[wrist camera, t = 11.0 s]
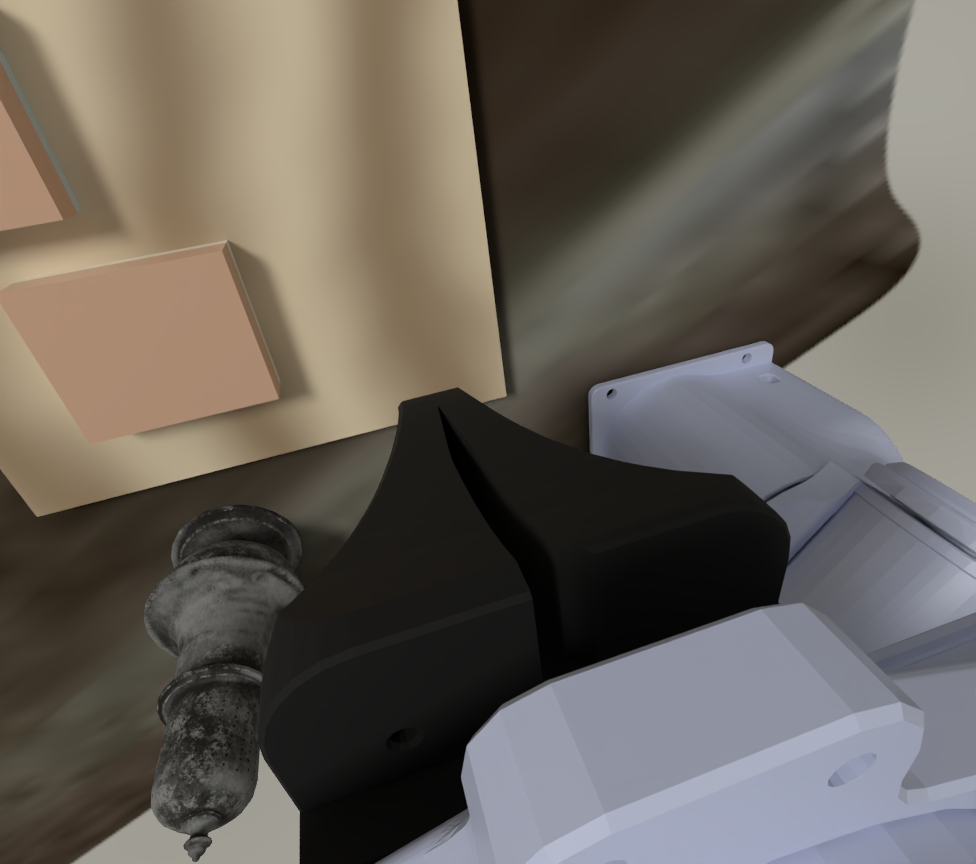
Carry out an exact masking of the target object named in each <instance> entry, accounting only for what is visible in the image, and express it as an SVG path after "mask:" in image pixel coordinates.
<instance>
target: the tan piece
mask: <svg viewBox="0 0 976 864" xmlns="http://www.w3.org/2000/svg"><path fill="white" fill-rule="evenodd" d="M80 211H82V209H81V207H80V205H79V203H78V201H77V199H76V197H75V195H74V193H73V191H72V189H71V187H70V185H69V183H68V181H67V179H66V177H65V175H64V173H63V171H62V169H61V167H60V165H59V163H58V161H57V159H56V158H55V156H54V154H53V152H52V150H51V148H50V146H49V144H48V142H47V140H46V138H45V136H44V134H43V132H42V130H41V128H40V126H39V124H38V122H37V120H36V118H35V116H34V114H33V112H32V110H31V108H30V106H29V104H28V102H27V100H26V98H25V96H24V94H23V92H22V90H21V88H20V86H19V84H18V82H17V80H16V78H15V76H14V74H13V72H12V70H11V68H10V66H9V64H8V62H7V60H6V58H5V56H4V54H3V52H2V50H1V48H0V231H3V230H9V229H15V228H20V227H26V226H32V225H37V224H43V223H49V222H55V221H60V220H64V219H66V218H68V217H70V216H72V215H74V214H76V213H78V212H80Z"/></svg>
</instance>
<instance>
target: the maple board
mask: <svg viewBox="0 0 976 864" xmlns="http://www.w3.org/2000/svg"><path fill="white" fill-rule="evenodd" d="M0 48H1V50H2V52H3V54H4V56H5V58H6V60H7V62H8V64H9V66H10V68H11V70H12V72H13V74H14V76H15V78H16V80H17V82H18V84H19V86H20V88H21V90H22V92H23V94H24V96H25V98H26V100H27V102H28V104H29V106H30V108H31V110H32V112H33V114H34V116H35V118H36V120H37V122H38V124H39V126H40V128H41V130H42V132H43V134H44V136H45V138H46V140H47V142H48V144H49V146H50V148H51V150H52V152H53V154H54V156H55V158H56V159H57V161H58V163H59V165H60V167H61V169H62V171H63V173H64V175H65V177H66V179H67V181H68V183H69V185H70V187H71V189H72V191H73V193H74V195H75V197H76V199H77V201H78V203H79V205H80V207H81V209H82V211H80V212H78V213H76V214H74V215H72V216H70V217H68V218H66V219H64V220H60V221H55V222H49V223H43V224H37V225H32V226H26V227H20V228H15V229H9V230H3V231H0V291H1V290H2V289H4V288H6V287H7V286H9V285H10V284H12V283H14V282H15V281H17V280H19V279H24V278H30V277H35V276H40V275H45V274H51V273H56V272H61V271H67V270H72V269H77V268H82V267H88V266H93V265H98V264H103V263H109V262H114V261H119V260H125V259H130V258H135V257H140V256H146V255H151V254H156V253H161V252H167V251H172V250H177V249H183V248H188V247H193V246H198V245H204V244H209V243H214V242H219V241H225V240H228V242H229V245H230V247H231V250H232V253H233V255H234V258H235V261H236V263H237V266H238V269H239V271H240V274H241V277H242V279H243V282H244V285H245V287H246V290H247V292H248V295H249V298H250V300H251V303H252V306H253V308H254V311H255V314H256V316H257V319H258V322H259V324H260V327H261V330H262V332H263V335H264V338H265V340H266V343H267V346H268V348H269V351H270V354H271V356H272V359H273V362H274V364H275V367H276V370H277V372H278V375H279V378H280V380H281V382H280V394H279V399H277V400H273V401H269V402H265V403H260V404H256V405H252V406H248V407H244V408H240V409H235V410H231V411H227V412H223V413H219V414H215V415H210V416H206V417H202V418H198V419H194V420H190V421H185V422H181V423H177V424H173V425H169V426H165V427H160V428H156V429H152V430H148V431H144V432H140V433H135V434H131V435H127V436H123V437H119V438H115V439H110V440H106V441H102V442H98V443H94V444H89V442H88V441H87V439H86V438H85V436H84V435H83V433H82V431H81V430H80V428H79V427H78V425H77V424H76V422H75V420H74V419H73V417H72V416H71V414H70V413H69V411H68V409H67V408H66V406H65V405H64V403H63V402H62V400H61V398H60V397H59V395H58V394H57V392H56V391H55V389H54V387H53V386H52V384H51V383H50V381H49V380H48V378H47V376H46V375H45V373H44V372H43V370H42V369H41V367H40V365H39V364H38V362H37V361H36V359H35V358H34V356H33V354H32V353H31V351H30V350H29V348H28V347H27V345H26V343H25V342H24V340H23V339H22V337H21V336H20V334H19V332H18V331H17V329H16V328H15V326H14V325H13V323H12V321H11V320H10V318H9V317H8V315H7V314H6V312H5V310H4V309H3V307H2V306H1V304H0V469H1V471H2V472H3V473H4V474H5V476H6V477H7V478H8V480H9V481H10V482H11V484H12V485H13V486H14V488H15V489H16V490H17V491H18V493H19V494H20V495H21V497H22V498H23V499H24V501H25V502H26V503H27V504H28V506H29V507H30V508H31V510H32V511H33V512H34V514H35V515H36V516H37V517H38V516H42V515H46V514H50V513H54V512H58V511H62V510H66V509H70V508H74V507H77V506H81V505H85V504H89V503H93V502H97V501H101V500H105V499H109V498H112V497H116V496H120V495H124V494H128V493H132V492H136V491H140V490H144V489H148V488H151V487H155V486H159V485H163V484H167V483H171V482H175V481H179V480H183V479H187V478H190V477H194V476H198V475H202V474H206V473H210V472H214V471H218V470H222V469H225V468H229V467H233V466H237V465H241V464H245V463H249V462H253V461H257V460H261V459H264V458H268V457H272V456H276V455H280V454H284V453H288V452H292V451H296V450H300V449H303V448H307V447H311V446H315V445H319V444H323V443H327V442H331V441H335V440H338V439H342V438H346V437H350V436H354V435H358V434H362V433H366V432H370V431H374V430H377V429H381V428H385V427H389V426H393V425H397V424H398V416H399V411H398V406H399V405H400V403H401V402H402V401H405V400H409V399H413V398H417V397H421V396H425V395H429V394H433V393H437V392H441V391H445V390H449V389H453V388H457V387H458V388H460V389H461V390H463V391H465V392H466V393H468V394H469V395H471V396H472V397H474V398H475V399H477V400H478V401H480V402H481V403H483V402H487V401H490V400H494V399H498V398H502V397H506V396H507V395H506V387H505V379H504V371H503V363H502V355H501V347H500V339H499V331H498V323H497V315H496V307H495V299H494V291H493V283H492V275H491V267H490V259H489V251H488V243H487V235H486V227H485V219H484V211H483V203H482V195H481V187H480V179H479V170H478V162H477V154H476V146H475V138H474V130H473V122H472V114H471V106H470V98H469V90H468V82H467V74H466V66H465V58H464V50H463V42H462V34H461V26H460V18H459V10H458V2H457V0H0Z"/></svg>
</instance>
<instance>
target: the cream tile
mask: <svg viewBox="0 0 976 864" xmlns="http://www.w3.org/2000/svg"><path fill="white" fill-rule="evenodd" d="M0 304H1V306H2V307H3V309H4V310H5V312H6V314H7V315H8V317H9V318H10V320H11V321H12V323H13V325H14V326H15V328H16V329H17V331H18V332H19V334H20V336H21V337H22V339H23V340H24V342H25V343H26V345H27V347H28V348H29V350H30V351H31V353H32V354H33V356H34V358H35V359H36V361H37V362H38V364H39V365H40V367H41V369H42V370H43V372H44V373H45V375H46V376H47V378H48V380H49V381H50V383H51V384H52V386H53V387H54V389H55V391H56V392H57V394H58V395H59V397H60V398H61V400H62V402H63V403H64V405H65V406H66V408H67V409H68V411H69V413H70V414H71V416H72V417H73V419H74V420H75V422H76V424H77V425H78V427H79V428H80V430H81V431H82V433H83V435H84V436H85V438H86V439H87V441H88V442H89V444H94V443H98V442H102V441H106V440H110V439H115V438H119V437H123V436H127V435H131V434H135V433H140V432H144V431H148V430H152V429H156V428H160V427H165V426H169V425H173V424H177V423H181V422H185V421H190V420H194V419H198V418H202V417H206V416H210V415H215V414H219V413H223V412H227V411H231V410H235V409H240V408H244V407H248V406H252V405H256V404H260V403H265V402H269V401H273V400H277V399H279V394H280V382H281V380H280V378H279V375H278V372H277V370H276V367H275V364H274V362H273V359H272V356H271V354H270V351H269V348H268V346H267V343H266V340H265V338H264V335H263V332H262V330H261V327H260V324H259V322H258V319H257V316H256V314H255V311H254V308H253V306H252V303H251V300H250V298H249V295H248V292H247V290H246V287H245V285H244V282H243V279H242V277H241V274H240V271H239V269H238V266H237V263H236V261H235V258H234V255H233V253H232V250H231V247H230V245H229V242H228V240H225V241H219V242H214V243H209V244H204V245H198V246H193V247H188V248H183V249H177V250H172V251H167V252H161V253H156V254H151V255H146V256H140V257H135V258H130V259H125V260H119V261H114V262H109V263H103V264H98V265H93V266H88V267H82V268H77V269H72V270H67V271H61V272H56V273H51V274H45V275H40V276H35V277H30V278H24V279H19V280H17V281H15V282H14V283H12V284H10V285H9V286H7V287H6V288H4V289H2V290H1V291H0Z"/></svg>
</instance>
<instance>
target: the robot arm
mask: <svg viewBox="0 0 976 864" xmlns="http://www.w3.org/2000/svg"><path fill="white" fill-rule="evenodd" d="M745 354H746V356H745V357H744V359H742V358H743V356H744V355H745ZM772 356H773V346H772V345H771V344H769V343H767V342H765V341H761V342H757V343H754V344H750V345H746V346H742V347H738V348H734V349H730V350H727V351H723V352H719V353H715V354H711V355H707V356H704V357H700V358H696V359H692V360H688V361H684V362H681V363H677V364H673V365H669V366H665V367H661V368H657V369H654V370H650V371H646V372H642V373H638V374H634V375H631V376H627V377H623V378H619V379H615V380H611V381H608V382H604V383H600V384H597V385H595V386H593V387H592V388H591V390H590V391H589V395H588V404H589V436H590V453H588V452H585V451H581V450H578V449H575V448H572V447H570V446H567V445H564V444H561V443H559V442H556V441H553V440H551V439H548V438H546V437H544V436H541V435H539V434H537V433H535V432H533V431H531V430H529V429H527V428H524V427H522V426H520V425H518V424H517V423H515V422H513V421H511V420H509V419H507V418H506V417H504V416H502V415H500V414H499V413H497V412H495V411H494V410H492V409H491V408H489V407H487V406H486V405H484V404H483V403H481V402H480V401H478V400H477V399H475V398H474V397H472V396H471V395H469V394H468V393H466V392H465V391H463V390H461V389H460V388H458V387H457V388H453V389H449V390H445V391H441V392H437V393H433V394H429V395H425V396H421V397H417V398H413V399H409V400H405V401H402V402H401V403H400V405H399V406H398V411H399V416H398V425H397V431H396V436H395V440H394V444H393V448H392V452H391V455H390V458H389V461H388V463H387V466H386V469H385V472H384V474H383V477H382V480H381V482H380V484H379V486H378V489H377V491H376V493H375V495H374V497H373V499H372V501H371V503H370V505H369V507H368V508H367V510H366V512H365V514H364V515H363V517H362V518H361V520H360V522H359V523H358V525H357V527H356V528H355V530H354V531H353V533H352V534H351V536H350V537H349V539H348V540H347V541H346V543H345V544H344V545H343V547H342V548H341V549H340V550H339V552H338V553H337V554H336V555H335V557H334V558H333V559H332V560H331V562H330V563H329V564H328V565H327V566H326V567H325V568H324V570H323V571H322V572H321V573H320V574H319V575H318V576H317V577H316V578H315V579H314V580H313V581H312V582H311V583H310V584H309V585H308V586H307V587H306V588H305V589H304V590H303V591H302V592H301V593H300V594H299V595H298V596H297V597H296V598H295V599H294V600H292V601H291V602H290V603H289V604H288V605H287V606H286V607H285V608H284V609H283V610H282V611H281V612H279V613H278V615H277V617H276V620H275V624H274V627H273V631H272V635H271V639H270V643H269V647H268V651H267V656H266V661H265V665H264V669H263V676H262V682H261V692H260V709H259V726H258V745H259V747H260V750H261V752H262V755H263V757H264V760H265V761H266V763H267V764H268V766H269V767H270V769H271V770H272V772H273V773H274V774H275V776H276V777H277V779H278V780H279V782H280V783H281V785H282V786H283V788H284V789H285V791H286V792H287V793H288V795H289V796H290V798H291V799H292V801H293V802H294V804H295V805H296V806H297V808H298V809H299V811H300V864H976V503H974V502H972V501H971V500H969V499H968V498H966V497H964V496H963V495H961V494H959V493H958V492H956V491H954V490H952V489H951V488H949V487H948V486H946V485H944V484H943V483H941V482H939V481H937V480H936V479H934V478H932V477H930V476H929V475H927V474H925V473H924V472H922V471H920V470H919V469H917V468H915V467H913V466H911V465H909V464H907V463H905V462H903V460H902V457H901V455H900V453H899V452H898V450H897V448H896V447H895V445H894V444H893V442H892V441H891V439H890V438H889V437H888V435H887V434H886V433H885V432H884V431H883V430H882V429H881V428H880V427H879V426H878V425H877V424H876V423H875V422H874V421H873V420H871V419H870V418H869V417H867V416H866V415H864V414H862V413H861V412H859V411H857V410H856V409H854V408H852V407H850V406H848V405H846V404H845V403H843V402H841V401H839V400H838V399H836V398H834V397H832V396H830V395H829V394H827V393H825V392H823V391H822V390H820V389H818V388H816V387H814V386H812V385H811V384H809V383H807V382H806V381H804V380H802V379H800V378H798V377H797V376H795V375H793V374H791V373H789V372H787V371H786V370H784V369H782V368H781V367H779V366H777V365H775V364H773V363H772ZM611 389H613V392H612V393H611V394H610V395H608V396H606V395H607V392H608V391H609V390H611Z"/></svg>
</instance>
